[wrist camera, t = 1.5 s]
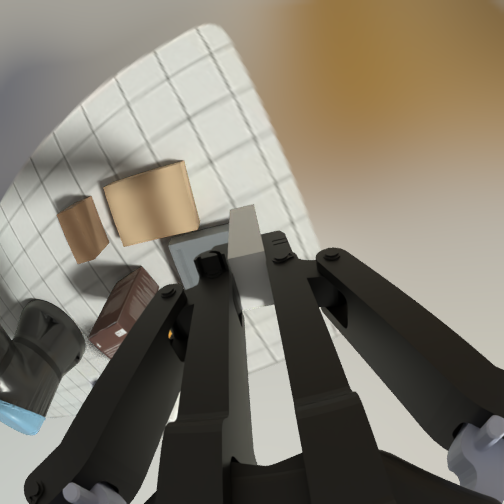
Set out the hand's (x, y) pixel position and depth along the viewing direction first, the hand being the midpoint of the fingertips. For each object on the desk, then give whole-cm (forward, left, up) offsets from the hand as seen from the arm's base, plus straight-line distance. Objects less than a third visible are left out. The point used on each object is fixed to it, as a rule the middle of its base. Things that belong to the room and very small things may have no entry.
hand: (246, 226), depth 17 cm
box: (-18, -11, -16) cm, 27 cm away
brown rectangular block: (-21, 0, -16) cm, 27 cm away
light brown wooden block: (-11, 0, -17) cm, 20 cm away
